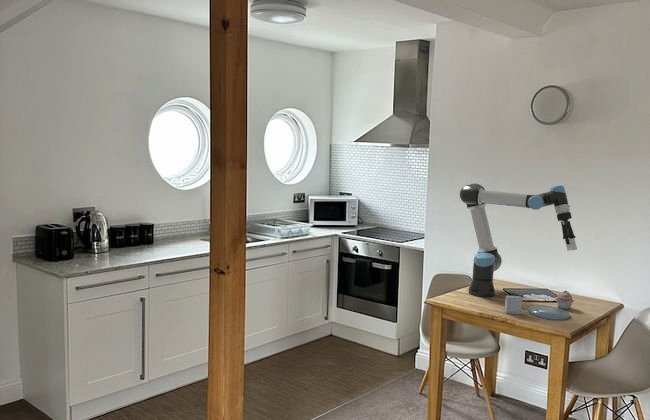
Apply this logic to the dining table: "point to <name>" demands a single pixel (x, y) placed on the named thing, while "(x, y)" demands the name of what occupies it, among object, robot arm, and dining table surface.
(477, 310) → the dining table surface
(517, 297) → the medicine box
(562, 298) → the cupcake
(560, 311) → the dish
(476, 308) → the dining table surface
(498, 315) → the dining table surface
